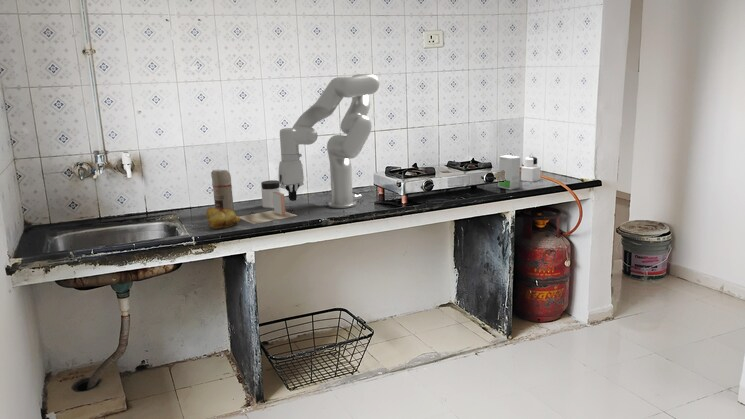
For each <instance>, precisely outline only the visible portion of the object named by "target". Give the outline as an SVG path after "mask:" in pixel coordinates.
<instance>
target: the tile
mask: <svg viewBox="0 0 745 419" xmlns="http://www.w3.org/2000/svg"><path fill="white" fill-rule="evenodd" d="M273 201H274V207H273V210H274V213H276V214H279V215H282V216H283V215H285V211H286V205H285V204H286V203H285V194H284V193H282V192H280V193H279V192H273Z"/></svg>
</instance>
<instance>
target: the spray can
mask: <svg viewBox="0 0 745 419" xmlns="http://www.w3.org/2000/svg"><path fill="white" fill-rule="evenodd" d="M210 176H211V185H212V191H213V201H214V208H215V209H218V210H220V211H221V210H223V209H230V210H232V211H234V212H235V206H234V197H233V186H232V177H231V176H232V175H231V173H230V172H229V170H228V169H219V168H217V169H212V171H211V172H210Z"/></svg>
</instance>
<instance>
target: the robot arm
mask: <svg viewBox="0 0 745 419" xmlns="http://www.w3.org/2000/svg"><path fill="white" fill-rule="evenodd" d="M379 88H380V80H379V77H377V75H375V74H373V73H357V74H353V75H352V76H337V77H334V78H333V79H331V80H330V81H329V83H328V84H327V86H326V87H325V88H324V90H323V92H321V95H320V96H318V99H317V100H316V101H315V103H313V104H312V105H311V106H309V108H307V110H305V111H304V112H303V113H302V114H300V116H299V117H298V118H297V119H296V122H295V123H294V125H293V126H292V127H286V128H281V129H280V130H279V144H280V159H281V161H279V164H278V175H277V176H278V181H279V184H280V189H285V190H286V191H287V193H288V199H289V201H291V202H294V201H297V197H298V196H297V191H298V189H299V188H300V187H302V186H304V181H305V180H304V177H305V176H304V170H303V169H304V168H303V165H302V160H301V157H302V153H300V151H299V150H300V149H299V146H300V145H303V146H306V145H308V146H309V145H313V144H315V142H316V141H317V140H318V137H319V136H318V131H317V129H315V128H313V127H314V126H315V125H316V124H317V123H318V122H320V121H323V120H325V119H327V118H328V117H330V116H332V115H333V113H334V111H335V110H336V109H337V107H338V106H339V105H340V103H341V102H342V100H343V99H344V98H351V101H350V104H349V107H348V109H347V111H346V112H345V115H344V116H343V118H342V120H341V122H340V130H341V132H342V133H343V134H345V135H343V134H336V135H335V134H334V135H332V136H331V137H330V138H329V139H328V140H327V142H326V144H327V145H326V150H327V156H328V160H329V171H330V172H329V173H330V174H329V175H330V194H331V201H329V202H328V207H329V208H333V209H345V208H346V209H348V208H353V207H355V206H357V201H356V200H359V199H362V198H363V196H362V194H355V193H353V177H352V176H353V174H352V172H353V171H352V162H351V159H355V158H356V157H357V156H359V154H360V153H361V151H362V150H363V147H364V146H365V144H366V142H367V140H368V138H369V136H370V134H371V131H372V126H373V125H372V122H371V119H370V118H369V117H368V116H367V115H368V113H369V111H370V107H371V98H370V95H372V94H375V93H376V92H377V91H378V90H379Z"/></svg>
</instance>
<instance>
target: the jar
mask: <svg viewBox="0 0 745 419" xmlns="http://www.w3.org/2000/svg"><path fill="white" fill-rule="evenodd" d="M260 185H261V198H262V199H261V200H262V202H261V203H262V208H268V209H269V208H270V209H274V201H273V192H279V193H281V188H280V184H279V180H275V179H274V180H264V181H261V184H260Z"/></svg>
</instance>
